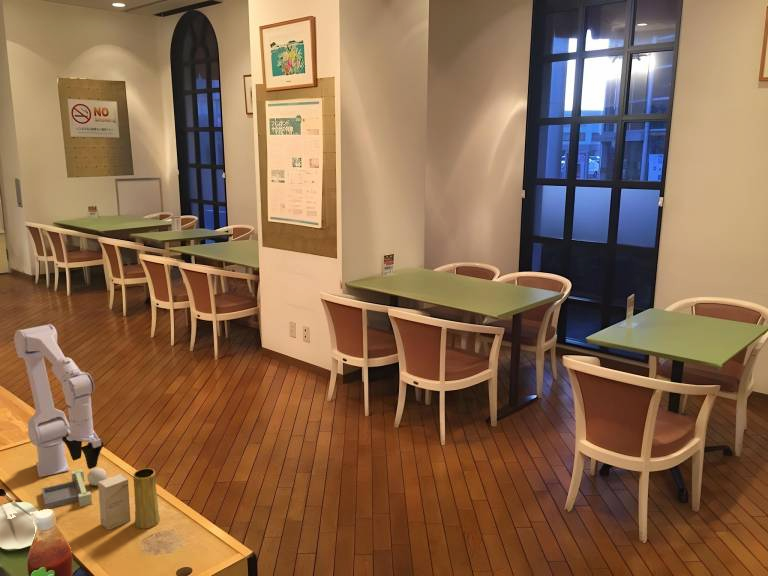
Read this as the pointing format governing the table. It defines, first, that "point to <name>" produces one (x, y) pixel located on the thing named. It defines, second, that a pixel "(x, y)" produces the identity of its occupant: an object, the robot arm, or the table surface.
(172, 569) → the table surface
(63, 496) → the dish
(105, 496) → the skincare box
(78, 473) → the rail
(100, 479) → the ball
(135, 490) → the vase
